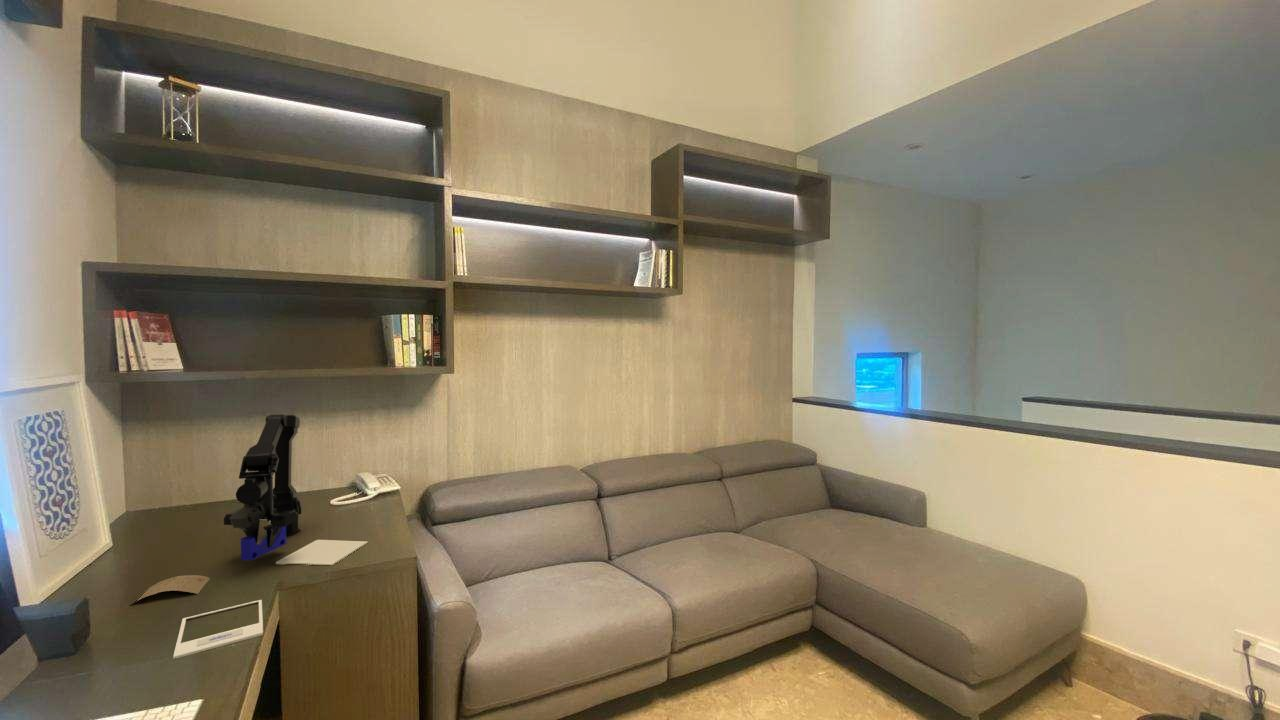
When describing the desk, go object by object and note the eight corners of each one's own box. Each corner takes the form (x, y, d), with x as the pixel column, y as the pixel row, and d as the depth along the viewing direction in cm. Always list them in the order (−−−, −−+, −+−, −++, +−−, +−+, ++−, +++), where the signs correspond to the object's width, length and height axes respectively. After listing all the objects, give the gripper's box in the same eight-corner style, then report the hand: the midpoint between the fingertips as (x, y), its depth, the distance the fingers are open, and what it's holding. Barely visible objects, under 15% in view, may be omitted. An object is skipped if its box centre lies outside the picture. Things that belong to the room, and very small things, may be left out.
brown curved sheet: (126, 609, 124) (126, 598, 124) (142, 591, 133) (142, 580, 132) (203, 596, 130) (203, 585, 130) (214, 579, 139) (213, 569, 139)
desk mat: (275, 564, 148) (275, 562, 148) (317, 541, 165) (317, 539, 165) (331, 566, 147) (331, 564, 146) (367, 543, 163) (367, 541, 163)
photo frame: (173, 655, 103) (182, 617, 118) (173, 661, 103) (182, 622, 118) (263, 631, 112) (261, 598, 127) (263, 636, 112) (261, 603, 127)
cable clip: (273, 542, 156) (272, 523, 156) (286, 543, 155) (285, 524, 155) (236, 559, 144) (236, 538, 144) (250, 560, 144) (250, 539, 143)
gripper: (205, 501, 142) (206, 557, 142) (269, 503, 140) (270, 559, 141) (239, 489, 153) (240, 541, 153) (299, 491, 151) (300, 544, 152)
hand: (261, 546), depth 150 cm, fingers closed on cable clip, 5 cm apart
